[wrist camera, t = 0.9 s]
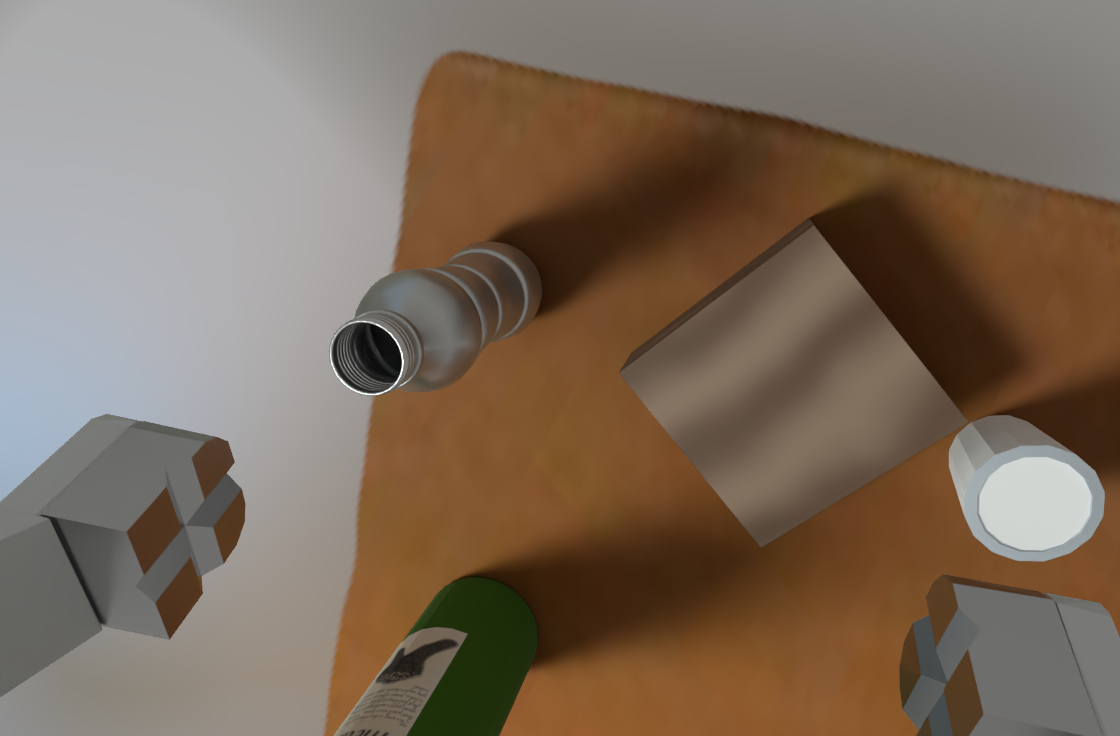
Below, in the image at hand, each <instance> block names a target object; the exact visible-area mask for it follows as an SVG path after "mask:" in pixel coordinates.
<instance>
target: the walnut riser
mask: <svg viewBox="0 0 1120 736" xmlns="http://www.w3.org/2000/svg"><path fill="white" fill-rule="evenodd" d="M619 374H620V375H621V376H622V377H623V379H624V380H625V381H626V382H627V384H628V385H629V386H630V387H631V388H632V390H633V391H634V392H635V393H636V395H637V396H638V397H639V398H640V400H641V401H642V402H643V403H644V404H645V406H646V407H647V408H648V409H649V411H650V412H651V413H652V414H653V416H654V417H655V418H656V419H657V420H658V422H659V423H660V424H661V425H662V427H663V428H664V429H665V430H666V431H667V433H668V434H669V435H670V436H671V438H672V439H673V440H674V441H675V443H676V444H677V445H678V446H679V447H680V449H681V450H682V451H683V452H684V454H685V455H686V456H687V457H688V459H689V460H690V461H691V462H692V463H693V465H694V466H695V467H696V468H697V470H698V471H699V472H700V473H701V475H702V476H703V477H704V478H705V479H706V481H707V482H708V483H709V484H710V486H711V487H712V488H713V489H714V491H715V492H716V493H717V494H718V495H719V497H720V498H721V499H722V500H723V502H724V503H725V504H726V505H727V506H728V508H729V509H730V510H731V511H732V513H733V514H734V515H735V516H736V518H737V519H738V520H739V521H740V522H741V524H742V525H743V526H744V527H745V529H746V530H747V531H748V532H749V534H750V535H751V536H752V537H753V538H754V540H755V541H756V542H757V543H758V545H759V546H760V547H761V548H762V547H763V546H765V545H767V544H768V543H770V542H771V541H773V540H775V539H776V538H778V537H780V536H781V535H783V534H785V533H786V532H788V531H790V530H791V529H793V528H795V527H796V526H798V525H800V524H801V523H803V522H804V521H806V520H808V519H809V518H811V517H813V516H814V515H816V514H818V513H819V512H821V511H823V510H824V509H826V508H828V507H829V506H831V505H833V504H834V503H836V502H837V501H839V500H841V499H842V498H844V497H846V496H847V495H849V494H851V493H852V492H854V491H856V490H857V489H859V488H861V487H862V486H864V485H866V484H867V483H869V482H870V481H872V480H874V479H875V478H877V477H879V476H880V475H882V474H884V473H885V472H887V471H889V470H890V469H892V468H894V467H895V466H897V465H899V464H900V463H902V462H903V461H905V460H907V459H908V458H910V457H912V456H913V455H915V454H917V453H918V452H920V451H922V450H923V449H925V448H927V447H928V446H930V445H932V444H933V443H935V442H936V441H938V440H940V439H941V438H943V437H945V436H946V435H948V434H950V433H951V432H953V431H955V430H956V429H958V428H960V427H961V426H963V425H965V424H966V423H968V421H967V419H966V418H965V417H964V415H963V414H962V413H961V411H960V410H959V409H958V407H957V406H956V405H955V403H954V402H953V401H952V399H951V398H950V397H949V395H948V394H947V393H946V392H945V390H944V389H943V388H942V386H941V385H940V384H939V383H938V381H937V380H936V379H935V378H934V376H933V375H932V374H931V372H930V371H929V370H928V369H927V367H926V366H925V365H924V364H923V362H922V361H921V360H920V358H919V357H918V356H917V355H916V353H915V352H914V351H913V350H912V348H911V347H910V346H909V344H908V343H907V342H906V341H905V339H904V338H903V337H902V336H901V334H900V333H899V332H898V330H897V329H896V328H895V327H894V325H893V324H892V323H891V322H890V320H889V319H888V318H887V316H886V315H885V314H884V313H883V311H882V310H881V309H880V308H879V306H878V305H877V304H876V302H875V301H874V300H873V299H872V297H871V296H870V295H869V294H868V292H867V291H866V290H865V288H864V287H863V286H862V285H861V283H860V282H859V281H858V280H857V278H856V277H855V276H854V274H853V273H852V272H851V271H850V269H849V268H848V267H847V266H846V264H845V263H844V262H843V260H842V259H841V258H840V257H839V255H838V254H837V253H836V252H835V250H834V249H833V248H832V246H831V245H830V244H829V243H828V241H827V240H826V239H825V238H824V236H823V235H822V234H821V232H820V231H819V230H818V229H817V227H816V226H815V225H814V224H813V222H812V221H811V220H810V218H808V219H807V220H805V221H804V222H803V223H801V224H800V225H799V226H797V227H796V228H795V229H794V230H792V231H791V232H790V233H788V234H787V235H786V236H784V237H783V238H782V239H780V240H779V241H778V242H776V243H775V244H774V245H773V246H771V247H770V248H769V249H767V250H766V251H765V252H763V253H762V254H761V255H759V256H758V257H757V258H755V259H754V260H753V261H752V262H750V263H749V264H748V265H746V266H745V267H744V268H742V269H741V270H740V271H738V272H737V273H736V274H734V275H733V276H732V277H731V278H729V279H728V280H727V281H725V282H724V283H723V284H721V285H720V286H719V287H717V288H716V289H715V290H713V291H712V292H711V293H710V294H708V295H707V296H706V297H704V298H703V299H702V300H700V301H699V302H698V303H696V304H695V305H694V306H692V307H691V308H690V309H689V310H687V311H686V312H685V313H683V314H682V315H681V316H679V317H678V318H677V319H675V320H674V321H673V322H671V323H670V324H669V325H667V326H666V327H665V328H664V329H662V330H661V331H660V332H658V333H657V334H656V335H654V336H653V337H652V338H650V339H649V340H648V341H646V342H645V343H644V344H643V345H641V346H640V347H639V348H637V349H636V350H635V351H633V352H632V353H631V354H630V356H629V358H628V359H627V361H626V362H625V364H624V366H623V367H622V369H621V370H620V372H619Z"/></svg>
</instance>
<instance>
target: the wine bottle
mask: <svg viewBox="0 0 1120 736" xmlns="http://www.w3.org/2000/svg"><path fill="white" fill-rule="evenodd" d="M537 645H538V633H537V624H536V621H535V618H534V615H533V613H532V611H531V609H530V608H529V606H528V605H527V603H526V602H525V600H524V599H523V598H522V597H521V596H520V595H519V594H517V593H516V592H515V591H514V590H513V589H511V588H510V587H508V586H506V585H505V584H503V583H501V582H499V581H495V580H492V579H489V578H484V577H469V578H463V579H459V580H457V581H455V582H453V583H451V584H449V585H447V586H445V587H444V588H443V589H442V590H441V591H440V592H439V593H438V594H437V595H436V596H435V597H434V599H433V600H432V602H431V603H430V604H429V606H428V607H427V608H426V610H425V611H424V612H423V614H422V615H421V617H420V618H419V619H418V621H417V622H416V623H415V625H414V626H413V628H412V629H411V630H410V632H409V633H408V634H407V636H406V637H405V639H404V640H403V641H402V643H401V644H400V645H399V646H398V647H397V649H396V650H395V652H394V653H393V654H392V656H391V657H390V658H389V660H388V661H387V663H386V664H385V665H384V667H383V668H382V669H381V671H380V672H379V674H378V675H377V676H376V678H375V679H374V680H373V682H372V683H371V685H370V686H369V687H368V689H367V690H366V691H365V693H364V694H363V696H362V697H361V698H360V700H359V701H358V702H357V704H356V705H355V707H354V708H353V709H352V711H351V712H350V713H349V715H348V716H347V718H346V719H345V720H344V722H343V723H342V725H341V726H340V727H339V729H338V730H337V731H336V733H335V734H334V736H499V735H500V733H501V730H502V728H503V726H504V724H505V721H506V719H507V717H508V715H509V713H510V710H511V708H512V706H513V704H514V701H515V699H516V697H517V695H518V692H519V690H520V688H521V686H522V683H523V681H524V679H525V677H526V675H527V672H528V670H529V668H530V666H531V663H532V661H533V659H534V657H535V654H536V650H537Z"/></svg>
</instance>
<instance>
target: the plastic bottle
mask: <svg viewBox="0 0 1120 736" xmlns="http://www.w3.org/2000/svg"><path fill="white" fill-rule="evenodd" d="M541 299H542V281H541V278H540V275H539V272H538V270H537V268H536V266H535V264H534V263H533V262H532V261H531V259H530V258H529V257H528V256H527V255H526V254H525V253H523V252H522V251H521V250H519V249H517V248H515V247H514V246H511V245H508V244H505V243H498V242H491V241H487V242H478V243H474V244H471V245H469V246H467V247H465V248H463V249H461V250H460V251H459V252H458V253H456V254H455V255H454V256H453V257H451V258H450V259H449V260H448V262H447V263H446V264H444V265H443V266H441V267H437V268H433V269H409V270H404V271H399V272H395V273H392V274H389V275H387V276H385V277H384V278H382V279H380V280H379V281H377V282H376V283H375V284H374V285H373V286H372V287H371V288H370V289H369V290H368V292H367V293H366V294H365V296H364V297H363V299H362V300H361V302H360V304H359V306H358V308H357V310H356V314H355V318H354V319H353V320H351V321H349V322H347V323H345V324H344V325H343V326H341V327H340V328H339V329H338V330H337V332H336V333H335V334H334V336H333V338H332V340H331V344H330V349H329V357H330V363H331V365H332V368H333V371H334V372H335V374H336V376H337V377H338V379H339V380H340V381H341V382H342V383H343V384H344V385H345V386H346V387H347V388H349V389H351V390H352V391H354V392H356V393H359V394H361V395H367V396H377V395H382V394H386V393H388V392H390V391H392V390H394V389H399V390H402V391H407V392H431V391H436V390H441V389H443V388H446V387H448V386H450V385H452V384H453V383H455V382H456V381H457V380H459V379H460V378H461V377H462V376H463V375H464V374H465V373H466V372H467V371H468V370H469V368H470V367H471V366H472V365H473V363H474V362H475V360H476V359H477V357H478V356H479V354H480V353H481V351H482V350H483V349H484V348H485V347H486V346H487V345H488V344H489V343H491V342H495V341H499V340H503V339H506V338H509V337H512V336H514V335H516V334H518V333H520V332H521V331H522V330H524V329H525V328H526V327H527V326H528V325H529V324H530V323H531V322H532V320H533V318H534V317H535V315H536V313H537V311H538V308H539V305H540V302H541Z"/></svg>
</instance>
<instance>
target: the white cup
mask: <svg viewBox="0 0 1120 736" xmlns="http://www.w3.org/2000/svg"><path fill="white" fill-rule="evenodd" d="M949 469H950V472H951V475H952V478H953V481H954V485H955V488H956V491H957V494H958V497H959V501H960V504H961V507H962V510H963V513H964V516H965V518H966V520H967V523H968V525H969V527H970V529H971V531H972V533H973V535H974V537H976V538H977V539H978V540H979V541H980V542H981V543H983V544H984V545H985V546H986V547H987V548H988V549H989V550H991V551H992V552H994V553H997V554H1000V555H1002V556H1005V557H1008V558H1011V559H1013V560H1016V561H1046V560H1050V559H1053V558H1056V557H1059V556H1063V555H1066V554H1069V553H1071V552H1072V551H1074V550H1075V549H1076V548H1078V547H1079V546H1080V545H1082V544H1083V543H1084V542H1086V541H1087V540H1088V539H1090V538H1091V536H1092V535H1093V533H1094V531H1095V530H1096V528H1097V526H1098V525H1099V523H1100V521H1101V519H1102V518H1103V513H1104V498H1105V492H1104V490H1103V488H1102V485H1101V483H1100V481H1099V479H1098V476H1097V474H1096V472H1095V471H1094V470H1093V469H1092V468H1091V467H1090V466H1089V465H1088V464H1086V463H1085V462H1084V461H1083V460H1082V459H1081V458H1079V457H1078V456H1077V455H1076V454H1075V453H1073V452H1072V451H1070V450H1069V449H1067V448H1066V447H1064V446H1063V445H1061V444H1060V443H1058V442H1057V441H1055V440H1054V439H1052V438H1051V437H1049V436H1048V435H1047V434H1045V433H1044V432H1042V431H1041V430H1039V429H1038V428H1036V427H1035V426H1033V425H1032V424H1030V423H1029V422H1027V421H1024V420H1021V419H1019V418H1016V417H1013V416H1010V415H997V416H987V417H984V418H981V419H979V420H976V421H973V422H971V423H970V424H968V425H967V426H966V427H965V428H964V429H963V430H961V431H960V432H959V433H958V434H957V435H956V437H955V439H954V441H953V443H952V445H951V447H950V449H949Z"/></svg>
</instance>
